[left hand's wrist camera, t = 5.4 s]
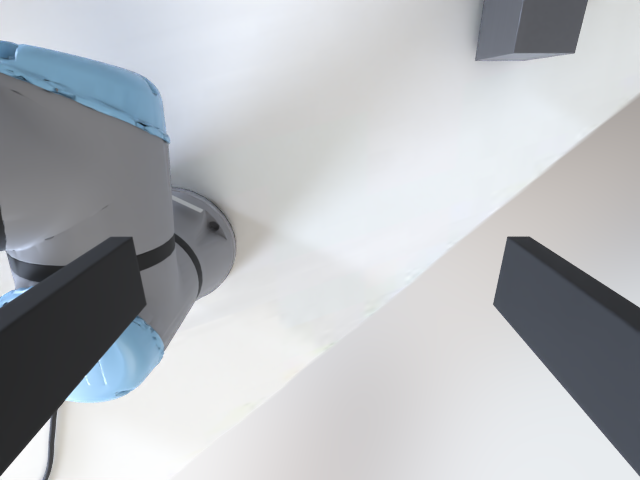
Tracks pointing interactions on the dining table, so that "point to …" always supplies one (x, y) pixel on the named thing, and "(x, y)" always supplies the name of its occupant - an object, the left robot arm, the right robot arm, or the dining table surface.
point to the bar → (529, 29)
